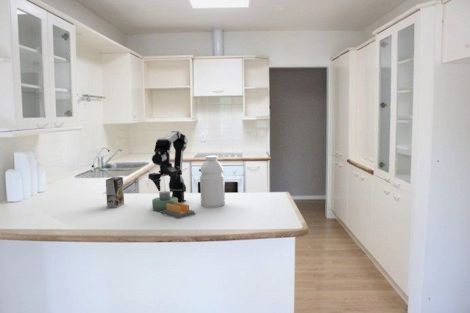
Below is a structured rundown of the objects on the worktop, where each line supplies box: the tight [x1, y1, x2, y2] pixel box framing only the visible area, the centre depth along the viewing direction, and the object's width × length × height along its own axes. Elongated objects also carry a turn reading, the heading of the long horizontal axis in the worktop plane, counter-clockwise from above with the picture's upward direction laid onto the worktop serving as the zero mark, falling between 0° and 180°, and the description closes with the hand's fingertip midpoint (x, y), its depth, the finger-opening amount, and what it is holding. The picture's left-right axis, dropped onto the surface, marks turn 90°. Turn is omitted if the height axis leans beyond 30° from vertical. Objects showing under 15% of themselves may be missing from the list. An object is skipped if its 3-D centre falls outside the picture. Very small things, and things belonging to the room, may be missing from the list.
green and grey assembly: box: [151, 190, 196, 220], centre depth 210 cm, size 14×30×9 cm, turn 44°
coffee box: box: [105, 176, 125, 209], centre depth 223 cm, size 9×6×16 cm
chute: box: [166, 202, 190, 214], centre depth 204 cm, size 12×6×4 cm, turn 44°
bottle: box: [199, 155, 226, 208], centre depth 220 cm, size 14×14×28 cm
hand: (166, 189), depth 212 cm, fingers open, 9 cm apart
